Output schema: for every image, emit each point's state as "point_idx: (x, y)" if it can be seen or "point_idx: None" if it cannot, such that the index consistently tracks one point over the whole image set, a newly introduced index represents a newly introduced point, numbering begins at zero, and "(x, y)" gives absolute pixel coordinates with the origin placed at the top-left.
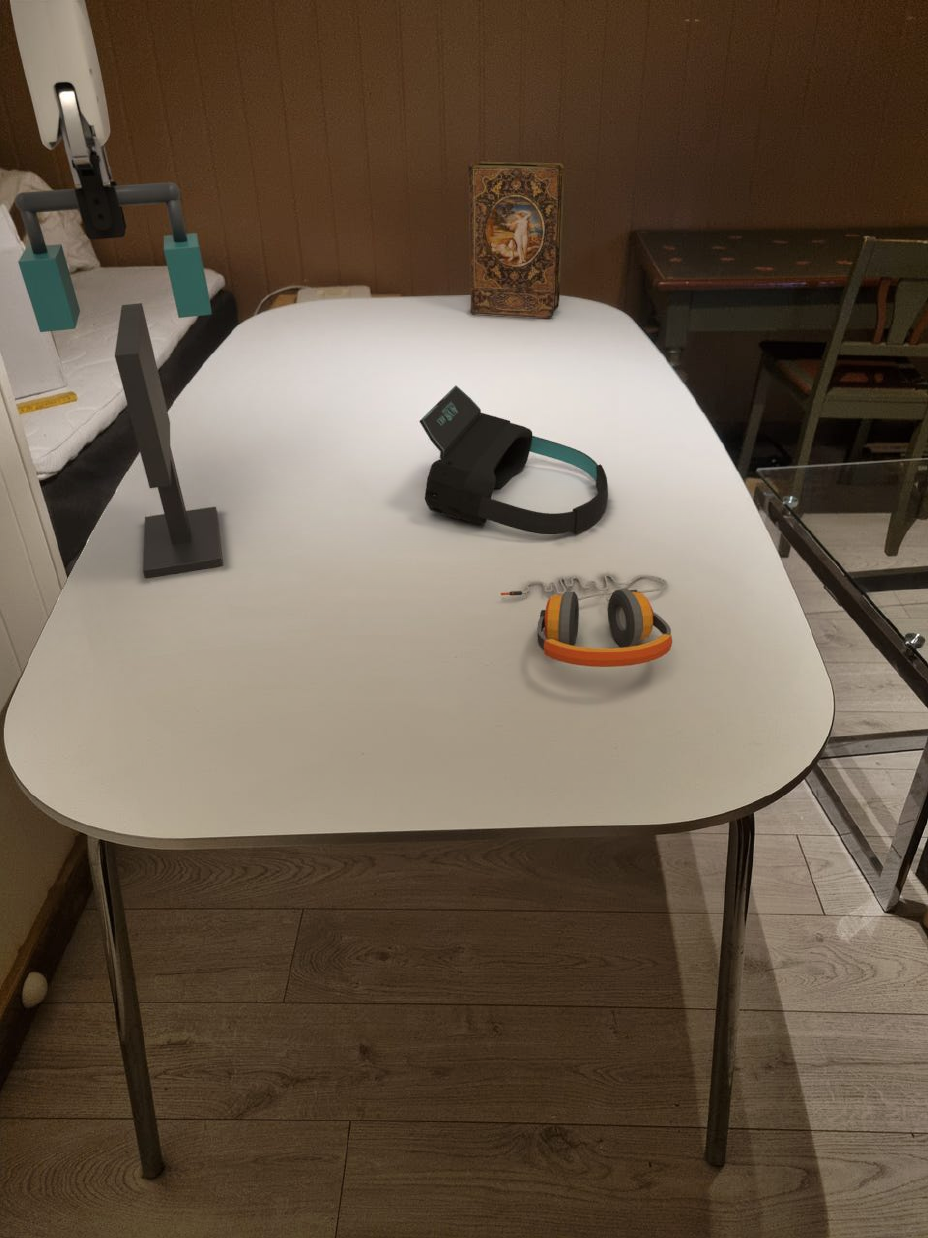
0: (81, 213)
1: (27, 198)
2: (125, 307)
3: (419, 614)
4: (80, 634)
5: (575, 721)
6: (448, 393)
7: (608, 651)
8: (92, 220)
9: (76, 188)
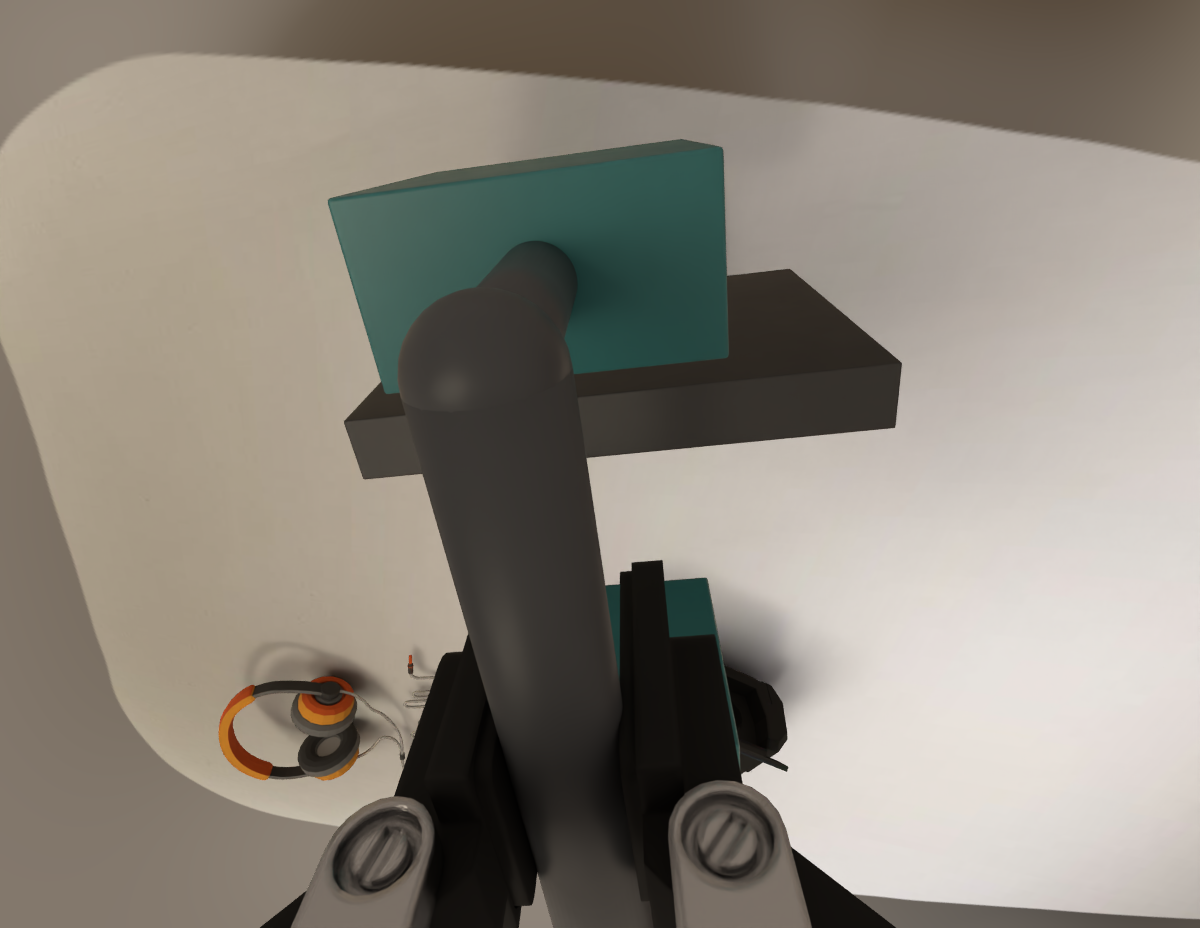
0: (461, 659)
1: (414, 436)
2: (860, 381)
3: (392, 572)
4: (351, 119)
5: (220, 666)
6: (755, 758)
7: (221, 739)
8: (434, 677)
9: (355, 812)
